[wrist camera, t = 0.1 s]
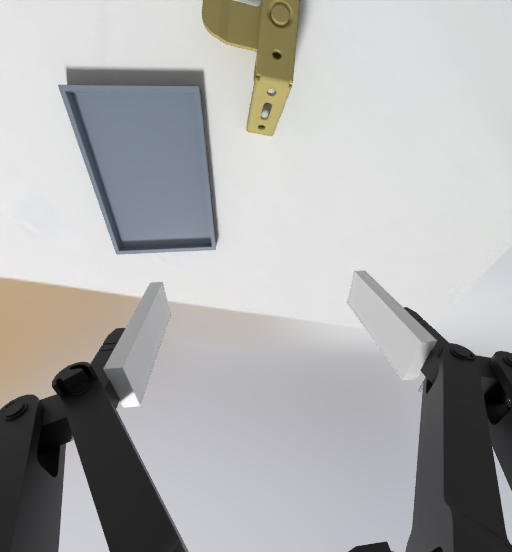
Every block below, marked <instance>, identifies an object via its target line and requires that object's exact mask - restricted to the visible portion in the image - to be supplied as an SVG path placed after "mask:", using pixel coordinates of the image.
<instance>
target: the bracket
mask: <svg viewBox="0 0 512 552" xmlns="http://www.w3.org/2000/svg"><path fill="white" fill-rule="evenodd" d="M298 13H299V0H262V2H261V5H260V6H258V7H255V6H252V5H248V4H244V3H240V2H237V1H233V0H203V7H202V19H203V23H204V26H205V28H206V29H207V31H208V32H209V33H210V34H211V35H212V36H214V37H216V38H217V39H219V40H220V41H222V42H223V43H225V44H227V45H231V46H235V47H239V48H243V49H247V50H251V51H256V52H257V56H256V62H255V71H254V87H253V92H252V98H251V104H250V109H249V115H248V120H247V128H246V129H247V131H248V132H251V133H256V134H261V135H267V136H273V134H274V131H275V129H276V126H277V124H278V121H279V118H280V116H281V113H282V111H283V108H284V105H285V103H286V100H287V98H288V95H289V92H290V90H291V87H292V85H291V84H289V83H293V73H294V61H295V49H296V37H297V25H298ZM269 89H274V90H275V91H276V92H275V93H269V92H268V90H269ZM265 103H270V104H272V107H271V110H270V113H269V116H268V117H267V118H263V117H261V113H262V109H263V105H264V104H265ZM259 125H263V126H265V127H264V128H261V127H259Z"/></svg>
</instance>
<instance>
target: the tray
mask: <svg viewBox="0 0 512 552" xmlns="http://www.w3.org/2000/svg"><path fill="white" fill-rule="evenodd" d="M58 87H59V90H60V92H61V95H62V98H63V101H64V104H65V107H66V110H67V113H68V116H69V118H70V121H71V124H72V127H73V130H74V133H75V136H76V139H77V142H78V145H79V147H80V150H81V153H82V156H83V159H84V162H85V165H86V168H87V171H88V173H89V176H90V179H91V182H92V185H93V188H94V191H95V194H96V197H97V199H98V202H99V205H100V208H101V211H102V214H103V217H104V220H105V223H106V225H107V228H108V231H109V234H110V237H111V240H112V243H113V246H114V249H115V251H116V254H137V253H158V252H180V251H201V250H216V239H215V229H214V220H213V210H212V200H211V190H210V181H209V171H208V161H207V151H206V141H205V132H204V122H203V112H202V102H201V92H200V88H199V86H125V85H58Z"/></svg>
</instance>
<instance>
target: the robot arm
mask: <svg viewBox="0 0 512 552" xmlns="http://www.w3.org/2000/svg"><path fill="white" fill-rule="evenodd" d="M347 303H348V305H349V306H350V308H351V309H352V310H353V312H354V313H355V315H356V316H357V317H358V319H359V320H360V322H361V323H362V324H363V326H364V327H365V329H366V330H367V331H368V333H369V334H370V335H371V337H372V338H373V340H374V341H375V342H376V344H377V345H378V346H379V348H380V349H381V351H382V352H383V353H384V355H385V356H386V358H387V359H388V360H389V362H390V363H391V365H392V366H393V367H394V369H395V370H396V372H397V373H398V374H399V376H400V377H401V379H402V380H409V379H417V377H418V375H419V373H420V371H421V372H422V373H423V374H424V375H425V376H426V378H425V380H424V381H423V383H422V385H421V386H420V388H419V390H418V391H420V392H421V391H422V389H423V394H422V408H421V421H420V434H419V447H418V461H417V473H416V486H415V500H414V512H413V525H412V531H411V535H410V537H409V540H408V543H407V547H406V552H512V545H511V544H510V543H509V541H508V539H507V535H506V531H505V524H504V518H503V512H502V506H501V499H500V494H499V487H498V481H497V475H496V469H495V462H494V456H493V450H492V447H493V449H494V451H495V453H496V456H497V458H498V460H499V463H500V465H501V467H502V470H503V472H504V474H505V476H506V479H507V481H508V483H509V486H510V488H511V490H512V353H509V352H503V351H499V352H496V353H495V354H494V355H493V357H492V358H488V357H482V356H476V355H474V354H473V353H472V352H471V351H470V350H468V349H467V348H465V347H463V346H460V345H457V344H453V343H449V342H447V341H446V340H445V339H444V338H443V337H442V336H441V335H440V334H439V333H438V332H437V331H436V330H435V329H433V328H432V327H431V326H430V325H428V323H427V322H426V321H425V320H423V318H422V317H421V316H419V315H418V314H417V313H416V312H414V311H413V310H411V309H409V308H407V307H404V308H403V307H402V306H401V305H400V304H399V303H398V302H397V301H396V300H395V299H394V298H393V297H392V296H391V295H390V294H389V293H387V292H386V291H385V290H384V289H383V288H382V287H381V286H380V285H379V284H378V283H377V282H376V281H375V280H374V279H373V278H372V277H371V276H370V275H369V274H368V273H367V272H366V271H354V275H353V279H352V284H351V288H350V292H349V296H348V300H347ZM170 315H171V314H170V310H169V306H168V302H167V298H166V294H165V290H164V286H163V282H155V283H150V285H149V286H148V288H147V290H146V292H145V294H144V296H143V297H142V299H141V301H140V303H139V305H138V307H137V308H136V310H135V312H134V314H133V316H132V317H131V319H130V321H129V323H128V325H127V327H126V328H118V329H115V330H114V331H113V332H112V333H111V334H109V335H108V337H107V338H106V340H105V341H104V343H103V345H102V346H101V348H100V349H99V352H98V353H97V354H96V356H95V358H94V359H93V361H92V362H91V364H89V363H87V362H79V363H75V364H72V365H70V366H68V367H66V368H64V369H63V370H61V371H60V372H59V373H58V374H57V375H56V376H55V378H54V380H53V381H52V387H53V389H54V390H55V391H56V393H57V395H54V396H51V397H48V398H45V399H42V400H39V399H38V397H36V396H34V395H24V396H21V397H18V398H16V399H15V400H12V401H10V402H9V403H8V404H7V405H5V406H4V407H3V408H1V410H0V552H58V547H59V534H60V519H61V506H62V492H63V477H64V463H65V448H66V443H68V442H70V441H72V440H74V441H75V444H76V447H77V450H78V453H79V456H80V459H81V462H82V466H83V469H84V472H85V475H86V478H87V481H88V485H89V488H90V491H91V494H92V497H93V500H94V503H95V507H96V510H97V513H98V516H99V519H100V522H101V525H102V529H103V532H104V535H105V538H106V541H107V544H108V547H109V551H110V552H188V550H187V548H186V546H185V544H184V542H183V540H182V538H181V536H180V534H179V532H178V530H177V528H176V526H175V524H174V522H173V520H172V518H171V516H170V514H169V512H168V510H167V508H166V506H165V505H164V503H163V501H162V499H161V497H160V495H159V493H158V491H157V489H156V487H155V485H154V483H153V481H152V479H151V477H150V475H149V473H148V471H147V469H146V467H145V465H144V463H143V461H142V459H141V458H140V455H139V454H138V452H137V450H136V448H135V446H134V444H133V442H132V440H131V438H130V436H129V434H128V432H127V430H126V428H125V426H124V424H123V422H122V420H121V418H120V416H119V414H118V412H117V411H116V408H117V405H118V403H119V401H120V402H121V404H122V406H123V407H124V408H125V407H135V406H140V405H141V402H142V399H143V396H144V393H145V390H146V387H147V384H148V381H149V378H150V375H151V372H152V369H153V366H154V363H155V360H156V357H157V354H158V351H159V348H160V345H161V342H162V339H163V336H164V333H165V330H166V327H167V324H168V321H169V318H170ZM509 399H510V401H509ZM510 402H511V403H510ZM349 552H393V551H391V550H390V548H389V546H388V543H387V542H381V543H375V544H368V545H362V546H356V547H355V548H353V549H352V550H350V551H349Z"/></svg>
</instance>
